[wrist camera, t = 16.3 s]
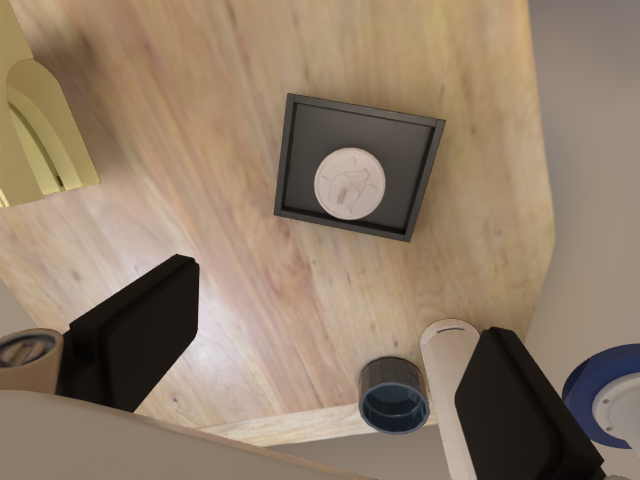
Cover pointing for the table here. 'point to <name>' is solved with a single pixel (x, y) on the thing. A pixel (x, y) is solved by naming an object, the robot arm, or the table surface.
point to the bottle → (449, 386)
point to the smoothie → (349, 183)
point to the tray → (363, 133)
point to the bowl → (393, 396)
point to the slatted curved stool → (35, 125)
